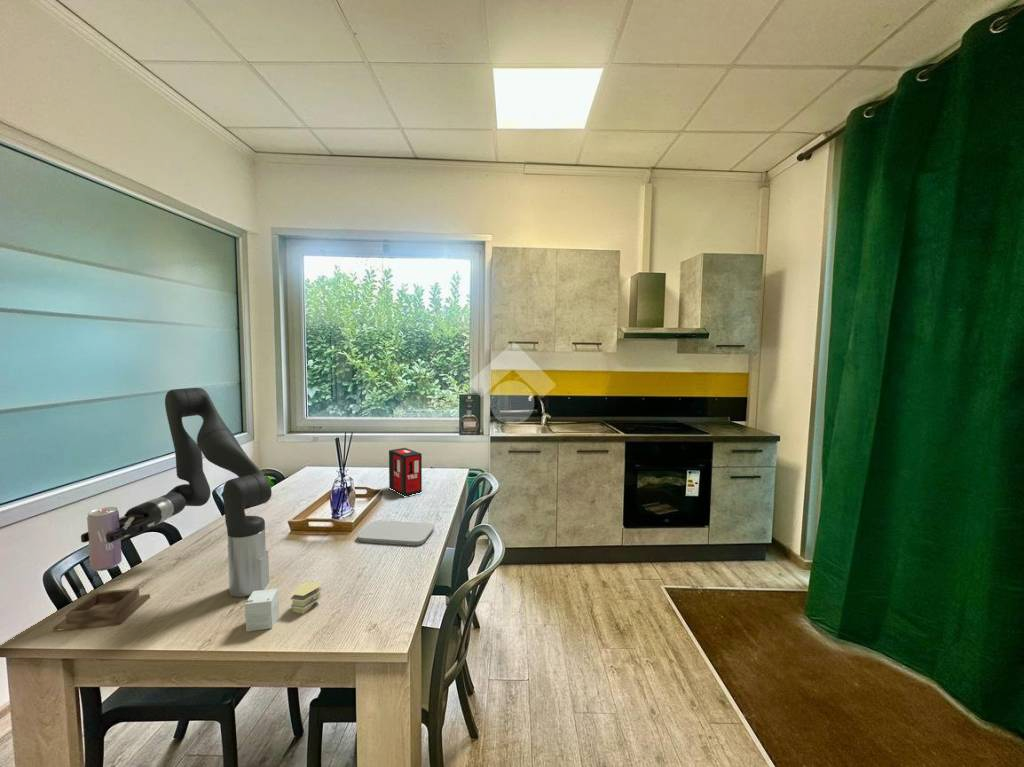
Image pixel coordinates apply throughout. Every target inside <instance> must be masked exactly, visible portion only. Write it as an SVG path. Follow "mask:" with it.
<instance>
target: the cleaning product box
mask: <svg viewBox="0 0 1024 767" xmlns="http://www.w3.org/2000/svg"><path fill="white" fill-rule="evenodd" d="M422 457H423V456H422V453H421V452H418V451H415V450H412V449H409V448H406V447H402V448H394V449H389V450H388V477H389V479H388V480H389V482H388V483H389V484H388V486H389V488H391V489H393V490H395V491H396V492H398V493H400V494H402V495H404V496H409V495H412V494H416V493H420V492H423V490H422V489H423V488H422V486H423V485H422V483H423V482H422V481H423V477H422V475H423V474H422V473H423V472H422V465H423V464H422V462H423V460H422V459H423V458H422ZM389 488H388V489H389ZM396 492H395V493H396ZM398 493H397V494H398ZM400 494H399V495H400ZM402 495H401V496H402ZM404 496H403V497H404ZM409 497H410V496H409Z"/></svg>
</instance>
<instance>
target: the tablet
mask: <svg viewBox="0 0 1024 767" xmlns="http://www.w3.org/2000/svg"><path fill="white" fill-rule="evenodd" d="M434 529H435V525H434V524H433V523H429V522H428V523H427V522H413V521H412V522H411V521H393V520H382V519H381V520H380V519H379V520H373V521H371V522H369V523H368V524H367V525H366V526H365V527H364V528H363V529H361V530H360V531H359V532H358V533H357V534H356V537H357V539H358V541H359V542H360V543H361V542H362V543H373V544H386V543H391V544H390V545H401V544H409V545H408V546H421V545H423V544H424V543H425V542H426V541H427V539H429V536H430V535H431V534H432V532H433V531H434ZM392 543H393V544H392ZM420 544H421V545H420Z"/></svg>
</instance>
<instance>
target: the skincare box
mask: <svg viewBox="0 0 1024 767" xmlns="http://www.w3.org/2000/svg"><path fill="white" fill-rule="evenodd" d="M279 601H280V599H279V589H278V588H271V589H264V590H260V591H253V592H252V594H251V595H249V597H248V598H247V600H246V601H245V603H244V616H245V617H244V618H245V631H246V632H255V631H262V630H269V629H273V627H274V626H275V624H276V621H277V619H278V618H279V615H280V602H279Z"/></svg>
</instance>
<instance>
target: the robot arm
mask: <svg viewBox="0 0 1024 767" xmlns="http://www.w3.org/2000/svg"><path fill="white" fill-rule="evenodd" d="M164 407H165V413H166V417H167V422H168V426H169V431H170V435H171V438H172V439H171V440H172V443H173V448H174V452H175V454H174V455H175V466H176V467H175V468H176V476H177V478H178V479H179V480H182V481H185V482H187V483H184V484H179V485H176V486H174V487H173V488H172V489H171V490H170V491H169V492H167V493H166V494H164V495H161V496H160V497H157V498H156V497H155V498H153V499H150V500H148V501H145V502H142V503H140V504H137V505H135V506H133V507H131V508H129V509H128V510H126V512H125V513H124V516H119V524H120V529H118V530H116V531H114V532H112V533H110V534H108V535H107V542H108V543H111V542H113V541H116V540H118V539H120V540H121V538H127V537H129V536H131V537H136V536H138V535H141V534H143V533H145V532H148V531H150V530H152V529H155V526H157V525H159V524H161V523H163V522H165V521H167V520H168V519H169V518H172V517H173V516H175V515H177V514H179V513H180V512H182V511H183V510H184V509H185V507H201V506H204V505H205V504H207V503H208V501H209V500H210V497H211V487H210V485H209V482H208V480H207V477H206V475H205V472H204V466H203V465H204V464H203V456H204V458H205V459H206V460H207V461H209V463H212V464H214V465H215V466H218V467H220V468H221V469H224V470H227V471H229V472H231V473H233V474H234V475H236V476H237V477H235V478H232V479H231V478H230V479H228V480H227V481H226V482H225V483H224V485H223V488H222V499H223V508H224V518H225V519H224V520H225V526H226V530H227V533H226V535H227V559H228V584H229V585H228V586H229V588H228V589H229V594H230V595H231V596H232V597H235V598H237V597H238V598H240V597H241V598H242V597H247V596H249V597H250V595H251V594H252V592H253V591H260V590H265V588H266V587H267V585H268V584H269V583H270V565H269V564H270V562H269V557H270V556H269V551H268V550H266V546H267V545H266V522H265V519H264V518H263V517H262V516H259V515H247V514H246V512H245V511H246V510H247V509H248V510H249V509H251V508H255V507H259V506H261V505H263V504H266V503H268V502H269V501H270V500H271V498H272V494H273V493H272V492H273V491H272V487H271V484H270V482H269V479H268V478H267V477H266V475H265V474H264V473H263V472H262V470H260V469H259V467H258V466H257V465H256V464H255V463H254V462H253V461H252V459H250V457H249V456H248V455H247V453H246V452H245V450H244V449H243V448H242V446H241V444H240V443H239V442H238V440H237V438H236V437H235V435H234V434H233V432H232V430H230V428H229V427H228V426H227V425H226V423H225V422H224V420H223V418H222V417H221V415H220V414H219V412H218V410H217V408H216V406H215V404H214V402H213V401H212V398H211V397H210V395H209V393H208V392H207V391H206V390H205V389H204V388H202V387H190V388H189V387H188V388H176V389H175V388H174V389H170V390H168V391H167V392H166V394H165V397H164ZM192 416H193V417H195V416H199V417H201V419H202V420H203V421H202V424H201V426H200V429H199V430H198V433H197V437H196V441H195V440H194V438H192V437H191V436H190V434H189V433H188V432H187V431H186V429H185V427H184V423H183V418H186V417H187V418H188V417H192ZM80 541H81V543H87V542H88V543H89V538H88V531H86V532H84V533H82V534H81V535H80Z"/></svg>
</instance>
